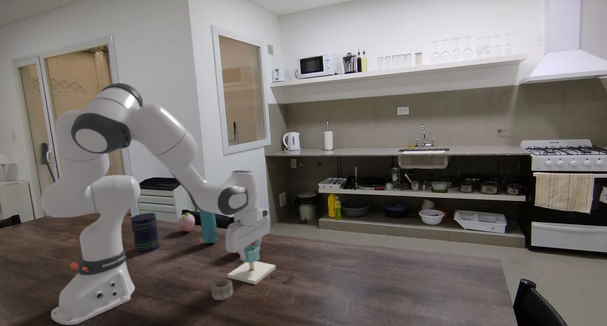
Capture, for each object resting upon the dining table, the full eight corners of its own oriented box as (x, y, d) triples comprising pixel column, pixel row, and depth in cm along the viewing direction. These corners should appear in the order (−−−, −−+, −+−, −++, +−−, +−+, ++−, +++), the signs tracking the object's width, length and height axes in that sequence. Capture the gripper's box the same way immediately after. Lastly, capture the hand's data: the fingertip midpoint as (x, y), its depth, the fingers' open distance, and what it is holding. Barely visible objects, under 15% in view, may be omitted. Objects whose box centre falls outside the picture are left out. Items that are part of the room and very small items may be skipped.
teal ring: (252, 263, 109) (251, 253, 108) (238, 260, 112) (237, 250, 111) (262, 256, 114) (262, 246, 113) (249, 253, 117) (248, 244, 116)
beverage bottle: (216, 245, 140) (211, 201, 137) (201, 246, 141) (195, 202, 138) (220, 240, 147) (215, 197, 144) (205, 240, 147) (201, 198, 144)
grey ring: (228, 300, 98) (227, 289, 97) (209, 299, 98) (208, 288, 98) (235, 289, 103) (234, 279, 103) (217, 289, 104) (216, 278, 104)
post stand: (255, 284, 106) (253, 266, 105) (227, 277, 112) (226, 260, 111) (275, 268, 116) (274, 252, 115) (249, 262, 122) (248, 247, 121)
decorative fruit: (179, 230, 164) (176, 211, 163) (196, 227, 167) (193, 208, 165) (178, 236, 155) (175, 216, 154) (195, 233, 158) (193, 213, 156)
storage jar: (164, 244, 146) (160, 212, 144) (152, 253, 137) (147, 219, 134) (143, 244, 147) (139, 213, 145) (130, 253, 138) (125, 220, 135)
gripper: (233, 227, 100) (237, 268, 102) (271, 208, 117) (274, 244, 119) (218, 224, 103) (223, 265, 105) (257, 207, 121) (260, 242, 123)
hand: (250, 254), depth 112 cm, fingers closed on teal ring, 6 cm apart
